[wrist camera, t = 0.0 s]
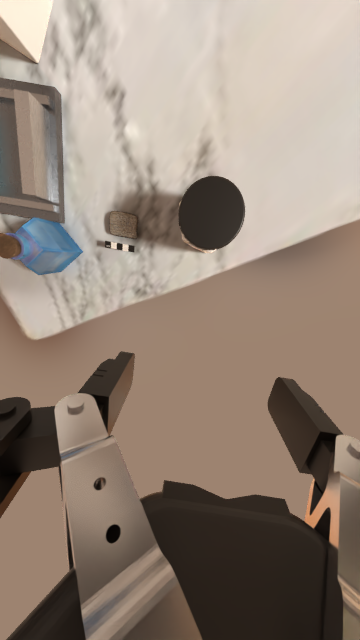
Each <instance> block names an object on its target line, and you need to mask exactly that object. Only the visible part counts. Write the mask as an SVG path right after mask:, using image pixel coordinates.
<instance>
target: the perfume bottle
mask: <svg viewBox="0 0 360 640" xmlns="http://www.w3.org/2000/svg"><path fill="white" fill-rule="evenodd" d="M82 252H83V251H82V250H81V249H80V248H79V246H78V245H77V244H76V243H75V242H74V240H73V239H72V238H71V237H70V236H69V234H68V233H67V232H66V231H65V230H64V228H63V227H62V226H61V225H60V224H59V223H57V222H53V221H48V220H44V219H40V218H35V217H33V218H32V219H31V220H29V221H28V222H27V223H25V224H24V225H23V226H22V227H21V228H20V229H19V230H18V231H17V232H16V233H5V234H3V233H0V256H1V257H3V258H7V259H8V258H11V259H20V261H21V262H22V263H23V264H24V265H25V266H26V267H28V268H29V269H30V270H32V271H33V272H35V273H36V274H38V275H42V274H49V273H56V272H61V271H62V270H64V269H65V268H66V267H67V266H68V265H69V264H70V263H71V262H72V261H73V260H75V259H76V258H77V257H78V256H79V255H80V254H81V253H82Z"/></svg>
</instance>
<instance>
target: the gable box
mask: <svg viewBox="0 0 360 640" xmlns="http://www.w3.org/2000/svg"><path fill="white" fill-rule="evenodd" d="M52 4H53V0H0V39H1V40H3V41H4V42H6V43H7V44H9V45H10V46H12V47H13V48H15V49H16V50H18V51H19V52H21V53H22V54H24V55H25V56H26V57H28V58H29V59H31V60H32V61H34V62H35V63H39V59H40V55H41V51H42V47H43V42H44V38H45V34H46V30H47V26H48V21H49V17H50V13H51V9H52Z"/></svg>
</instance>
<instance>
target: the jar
mask: <svg viewBox="0 0 360 640" xmlns="http://www.w3.org/2000/svg"><path fill="white" fill-rule="evenodd" d="M244 217H245V205H244V200H243V197H242V194H241V193H240V191H239V189H238V188H237V187H236V186H235V185H234V184H233V183H232V182H231V181H229V180H228V179H226V178H223V177H219V176H208V177H204V178H202V179H200V180H198V181H196V182H195V183H193V184H192V185H191V186H190V187H189V188H188V189H187V191H186V192H185V194H184V196H183V198H182V200H181V201H180V203H179V226H180V227H181V228H180V229H181V232H182V239H183V241H184V243H186V244H188V245H190V246H191V247H193V248H195V249H197V250H200V251H202V252H204V253H212V252H214V251H215V250H216V249H220V248H222V247H224V246H226V245H227V244H229V243H230V242H231V241H232V240H233V239H234V238H235V237H236V236H237V234H238V233H239V231H240V229H241V227H242V225H243V221H244Z"/></svg>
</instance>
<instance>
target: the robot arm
mask: <svg viewBox="0 0 360 640" xmlns="http://www.w3.org/2000/svg"><path fill="white" fill-rule="evenodd" d="M134 358H135V354H134V353H128V352H122V351H121V352H120V353H119V355H118V356H117V357H116V359H115V360H113V359H108V360H106V361H104V362H103V363H101V364H100V366H99V367H98V368H97V370H96V371H95V372H94V373H93V375H92V376H91V377H90V378H89V379H88V381H87V382H86V383H85V384H84V386H83V387H82V388H81V389H80V391H79V392H78V393H77V394H72V395H69V396H67V397H65V398H63V399H62V400H60V401H59V402H58V403H57V405H56V406H51V407H41V408H31V405H30V402H29V401H28V400H27V399H25V398H21V397H13V398H7V399H3V400H0V518H1V516H2V515H3V513H4V512H5V510H6V509H7V507H8V506H9V504H10V502H11V501H12V500H13V498H14V497H15V495H16V494H17V492H18V491H19V489H20V488H21V486H22V485H23V483H24V482H25V480H26V479H27V477H28V475H29V474H30V472H31V471H36V470H41V469H47V468H52V467H58V470H59V480H60V489H61V498H62V507H63V517H64V527H65V537H66V538H65V539H66V548H67V558H68V567H69V572H68V573H67V574H66V575H65V576H64V577H63V579H62V580H61V581H60V582H59V583H58V584H57V585H56V586H55V587H54V589H52V591H51V592H50V593H49V594H48V595H47V596H46V597H45V598H44V599H43V600H42V601H41V602H40V604H39V605H38V606H37V607H36V608H35V609H34V610H33V611H32V612H31V613H30V614H29V615H28V617H27V618H26V619H25V620H24V621H23V622H22V623H21V624H20V625H19V626H18V627H17V628H16V630H15V631H14V632H13V633H12V634H11V635H10V636H9V637H8V638H7V639H6V640H360V441H359V440H357V439H355V438H352V437H350V436H346V435H344V434H343V433H342V432H341V431H340V430H339V429H338V427H336V425H335V424H334V423H333V422H332V420H331V419H330V418H329V417H328V416H327V415H326V413H324V411H323V410H322V409H321V407H319V406H318V404H317V403H316V401H315V400H314V399H313V398H312V397H311V396H310V395H308V394H307V393H305V392H304V391H303V390H302V389H301V388H300V387H299V386H298V384H297V383H296V382H295V381H294V380H293V379H287V378H280V377H278V378H277V379H276V380H275V383H274V386H273V388H272V391H271V394H270V396H269V399H268V410H269V412H270V414H271V416H272V418H273V421H274V423H275V424H276V427H277V429H278V430H279V432H280V434H281V436H282V438H283V440H284V442H285V444H286V446H287V448H288V450H289V452H290V454H291V456H292V458H293V460H294V462H295V464H296V466H297V468H298V470H299V472H300V473H307V474H312V475H313V477H314V479H313V481H312V483H311V487H310V492H309V498H308V504H307V510H306V516H305V521H303V520H301V519H300V518H298V517H297V516H295V515H293V514H291V513H290V512H289V509H288V507H287V504H286V501H285V499H280V498H273V497H267V496H261V495H250V496H244V497H238V498H232V499H224V498H222V497H219V496H217V495H215V494H213V493H211V492H208V491H206V490H204V489H202V488H200V487H197V486H195V485H191V484H185V483H178V482H172V481H165V480H164V484H163V490H162V492H156V493H153V494H150V495H147V496H145V497H143V498H141V499H139V496H138V494H137V491H136V489H135V487H134V484H133V481H132V479H131V476H130V474H129V471H128V469H127V466H126V464H125V461H124V459H123V456H122V454H121V451H120V449H119V446H118V444H117V441H116V439H115V437H114V436H110V433H111V431H112V429H113V426H114V424H115V422H116V420H117V417H118V415H119V413H120V411H121V408H122V406H123V404H124V401H125V399H126V397H127V395H128V392H129V390H130V387H131V384H132V379H133V370H134Z"/></svg>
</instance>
